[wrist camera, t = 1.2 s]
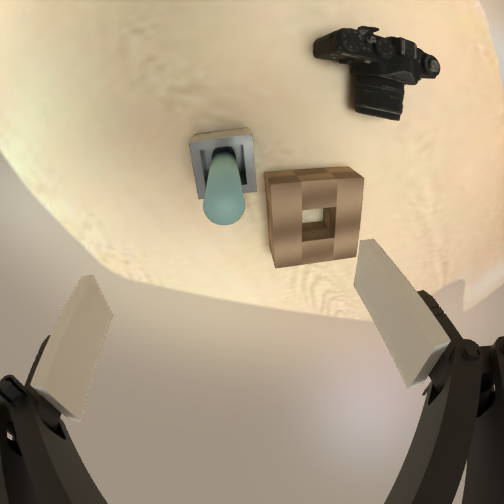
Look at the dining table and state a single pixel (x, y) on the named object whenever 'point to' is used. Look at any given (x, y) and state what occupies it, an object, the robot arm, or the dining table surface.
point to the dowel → (224, 188)
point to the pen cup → (234, 138)
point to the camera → (377, 67)
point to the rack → (313, 197)
